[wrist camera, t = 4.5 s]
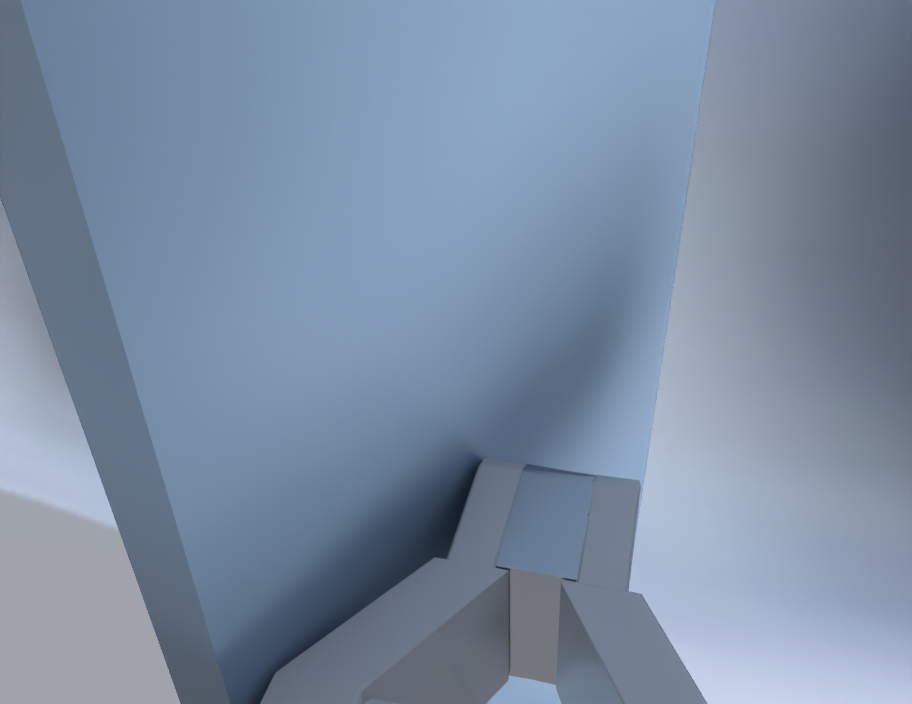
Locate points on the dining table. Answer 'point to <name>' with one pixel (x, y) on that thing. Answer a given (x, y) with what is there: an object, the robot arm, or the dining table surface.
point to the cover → (341, 278)
